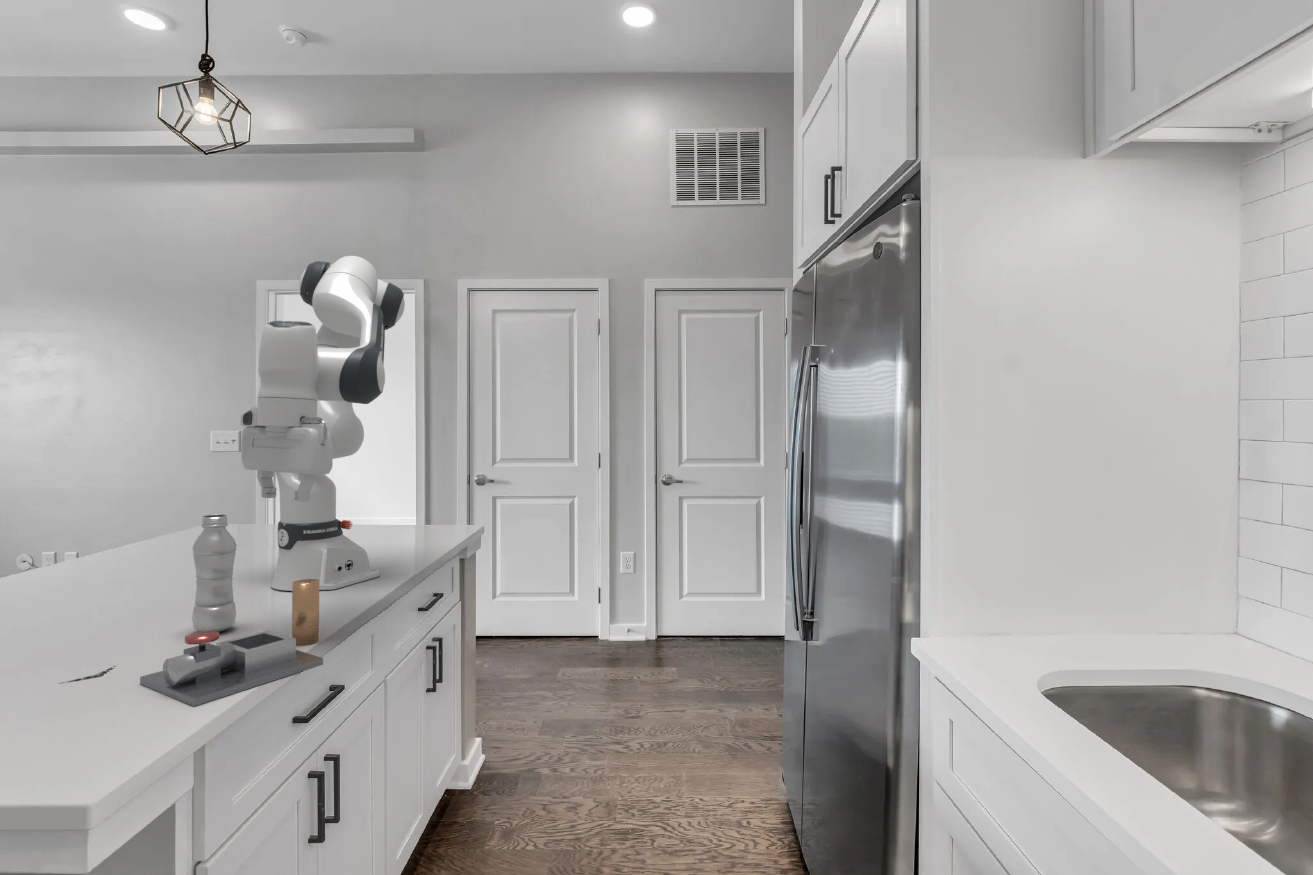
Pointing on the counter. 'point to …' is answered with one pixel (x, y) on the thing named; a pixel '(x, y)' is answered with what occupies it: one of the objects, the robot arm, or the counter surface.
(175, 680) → the valve fitting
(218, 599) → the plastic bottle
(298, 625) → the pipe stub
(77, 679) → the dark thin curved piece
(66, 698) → the counter surface
